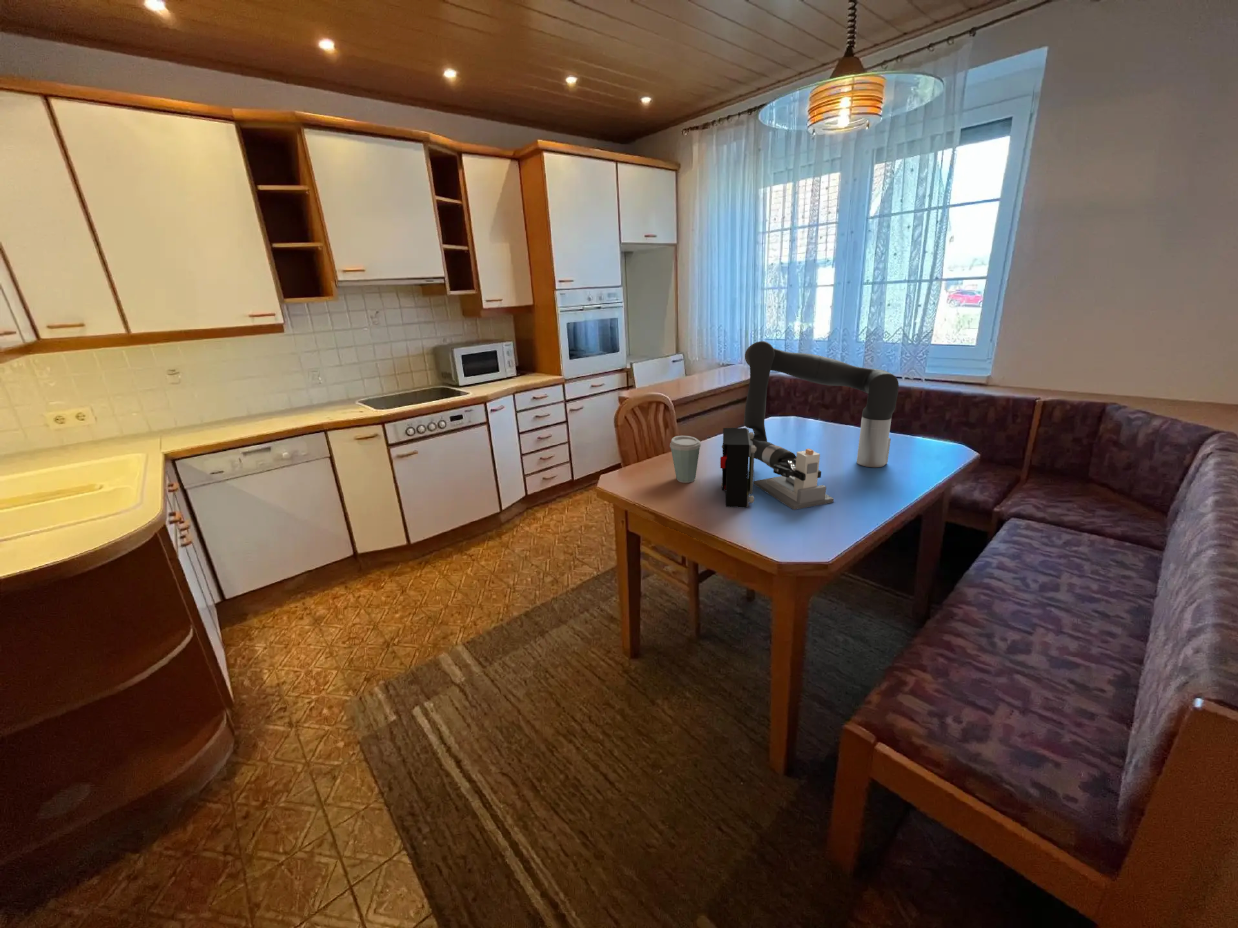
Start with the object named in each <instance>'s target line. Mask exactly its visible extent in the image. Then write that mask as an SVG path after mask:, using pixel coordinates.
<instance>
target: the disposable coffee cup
mask: <svg viewBox="0 0 1238 928" xmlns="http://www.w3.org/2000/svg"><path fill="white" fill-rule="evenodd" d="M669 448H670V451H671V456H672V462H673V468H674V472H675V473H674V474H675V478H676V480H677V481H678V482H680V483H682V484H688V483H689V484H690V483H692V482H694V481H695V479H696V475H697V470H698V469H697V468H698V461H699V455H700V448H701V441H700V440H699V439H698V438H696V437H694V436H690V435H676V436H674V437H672V438H671V441H670V443H669Z"/></svg>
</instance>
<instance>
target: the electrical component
mask: <svg viewBox="0 0 1238 928" xmlns="http://www.w3.org/2000/svg"><path fill="white" fill-rule="evenodd" d="M722 429H723V430H722V431H723V432H722V446H721V449H722V456H720V462H719V463H720V465H719V466H720V467H719V468H720V469H721V471H722V475H721V484H720V486H721V490H722V491H725V507H726V508H745V509H746V508H748V507H750V506H749V505H750V504H754V503H755V497H754V495H753V492H754V491H753V490H754V489H753V488H754V468H755V458H754V453H755V451H756V447H755V445H753V442H752V441H751V440H750V439H753V438H754V432H753V431H752V432H751V431H750V430H749V429H750V428H747V427H723V428H722Z"/></svg>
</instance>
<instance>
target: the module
mask: <svg viewBox="0 0 1238 928" xmlns="http://www.w3.org/2000/svg"><path fill="white" fill-rule="evenodd" d="M795 456H796V469H797V470H799V471H801V472H803V473H805V474H806V479H805V481H802V480H800V479H798V478H796V477H795V480H794V493H796V494H797V492H798V489H804V488H809V487H814V486H818V480H819V478H818V470H819V467H820V459H821V458H820V457H821V454H820V453H818V452H816V451H814V449H811V448H805V450H801V451H797V452H796V454H795Z"/></svg>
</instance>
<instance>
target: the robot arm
mask: <svg viewBox="0 0 1238 928" xmlns="http://www.w3.org/2000/svg"><path fill="white" fill-rule="evenodd" d="M744 360H745V362H746V364H747V365H748V366H749V385H748V391H747V395H746V400H745V406H744V417H743V418H744V419H743V425H744V428H747V429H752V432H753V434H754V438H753V439H750V440H751V441H752V442H753V445H755V447H756V451H755V453H754V460H755V459H756V460H759V462H761V463H763V464H765V465H766V466H767V467H769V468H771V469H773V471H772V472H773V474H777V475H779V476H784V477H787V478H789V477H790V476H792V477H796V478H798V479H800V480H802V481H805V479H806V474H805V473H803V472H801V471H799V470H797V469H796V454H795V453H794V452H792V451H790V450H788V449H786V448H784V447H782V446H779V445H776V444H775V443H772V442H769V441H768V437H767V433H766V431H767V430H766V427H765V420H766V419H765V418H766V406H767V393H768V385H769V379H770V374H771V371H772V372H777V373H783V374H786V375H789V376H791V377H793V378H796V379H800V380H802V381H803V380H804V381H807V382H812V383H814V384H817V385H818V384H819V385H825V386H832V387H833V386H835V387H836V386H838V387H840V386H841V387H848V388H852V389H855V390H858V391H861V392H863V393H865V394H867V400H866V406H865V407H864V408H863V409H862V414H861V421H860V430H859V439H858V446H857V447H858V449H857V453H856V454H857V457H856V464H858V465H859V466H862V467H867V468H881V467H884V466H885V465H888V462H889V461H888V460H889V454H890V447H891V438H890V431H891V424H892V423H891V422H892V417H893V413H894V412H895V410H896V404H897V402H898V401H897V400H898V395H899V385H900V384H899V380H898V378H897V377H896V375H894V374H893V373H891V372H889V371H887V370H884V369H874V368H868V367H861V366H855V365H852V364H850V363H847V362H844V361H841V360H837V359H834V358H832V357H831V358H830V357H826V356H824V355H820V354H819V355H817V354H812V353H807V352H806V353H804V352H790V351H785V350H781V349H778V348H775V347H773V345H772V344H770V342H768V341H764V340H761V341H756V342H754V343H752V344H751V345H750V346H748V347H747V348H746V350H745V353H744ZM820 478H822V471H821V470H818V479H820Z"/></svg>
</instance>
